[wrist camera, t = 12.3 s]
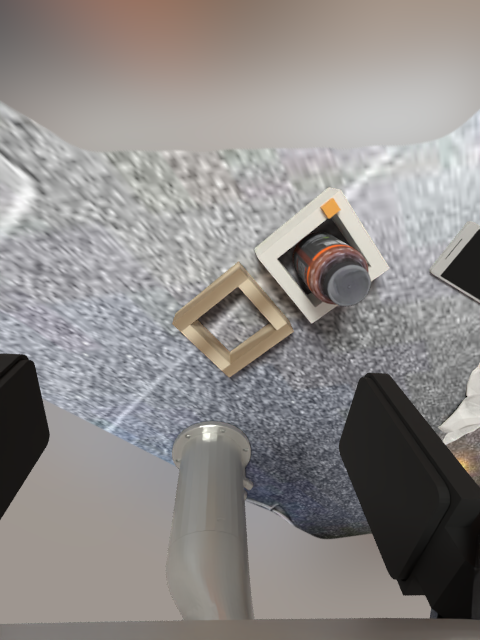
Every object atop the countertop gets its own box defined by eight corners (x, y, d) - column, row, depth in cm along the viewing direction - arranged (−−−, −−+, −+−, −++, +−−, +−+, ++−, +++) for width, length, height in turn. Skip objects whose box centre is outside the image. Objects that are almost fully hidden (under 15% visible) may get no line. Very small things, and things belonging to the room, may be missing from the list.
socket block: (374, 258, 39) (392, 269, 35) (304, 310, 42) (312, 326, 38) (328, 187, 35) (342, 190, 31) (254, 248, 38) (258, 258, 34)
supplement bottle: (309, 287, 40) (339, 329, 30) (281, 253, 38) (302, 285, 28) (349, 257, 39) (394, 289, 29) (322, 219, 37) (359, 240, 27)
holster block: (289, 320, 42) (293, 331, 40) (228, 365, 45) (229, 377, 42) (238, 261, 38) (239, 268, 36) (175, 313, 41) (172, 323, 38)
